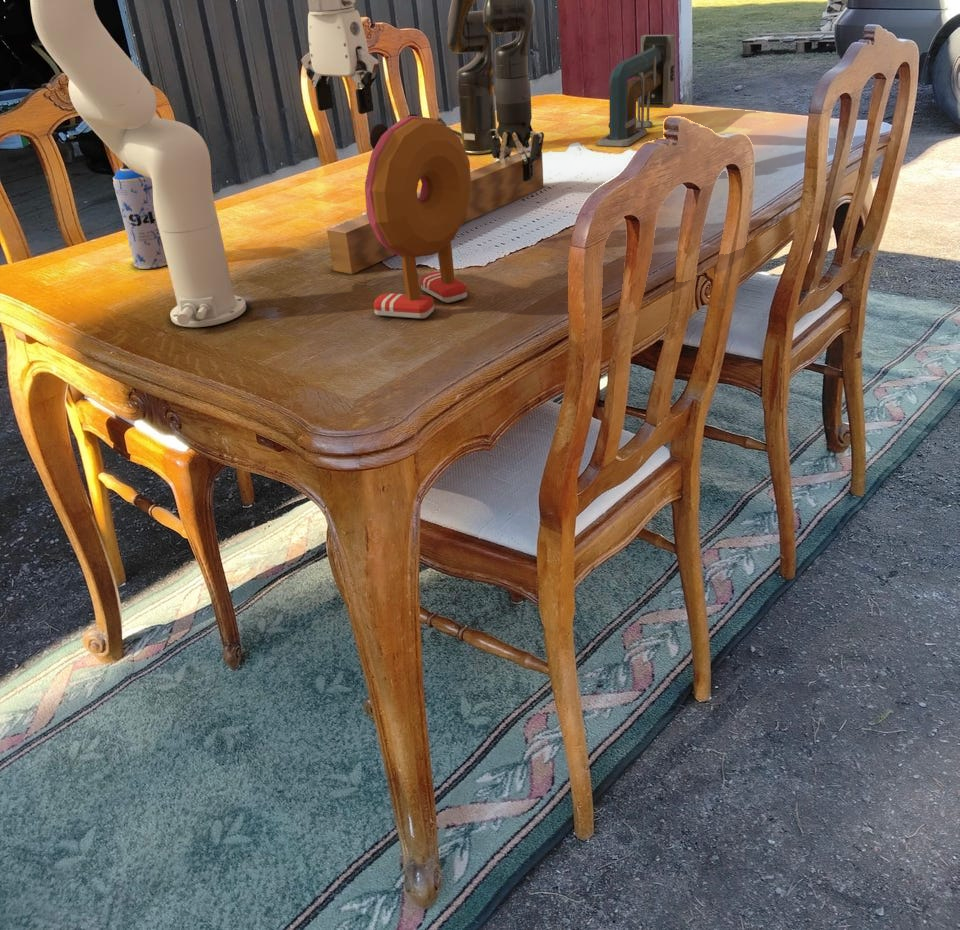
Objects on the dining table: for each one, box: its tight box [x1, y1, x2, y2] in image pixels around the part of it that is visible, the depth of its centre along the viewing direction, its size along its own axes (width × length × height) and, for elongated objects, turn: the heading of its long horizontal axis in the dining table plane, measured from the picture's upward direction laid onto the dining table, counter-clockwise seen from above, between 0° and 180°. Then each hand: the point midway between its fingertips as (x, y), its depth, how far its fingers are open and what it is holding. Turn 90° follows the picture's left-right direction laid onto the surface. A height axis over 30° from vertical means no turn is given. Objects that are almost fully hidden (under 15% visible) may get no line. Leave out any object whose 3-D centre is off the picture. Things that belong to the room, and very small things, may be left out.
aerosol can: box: [112, 162, 168, 270], centre depth 186 cm, size 8×8×20 cm
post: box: [326, 151, 544, 275], centre depth 197 cm, size 63×5×8 cm, turn 143°
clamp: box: [596, 34, 676, 147], centre depth 254 cm, size 35×9×21 cm, turn 151°
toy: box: [364, 113, 472, 319], centre depth 153 cm, size 21×10×30 cm, turn 141°
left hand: (345, 110), depth 168 cm, fingers open, 9 cm apart
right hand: (517, 178), depth 214 cm, fingers closed on post, 5 cm apart
